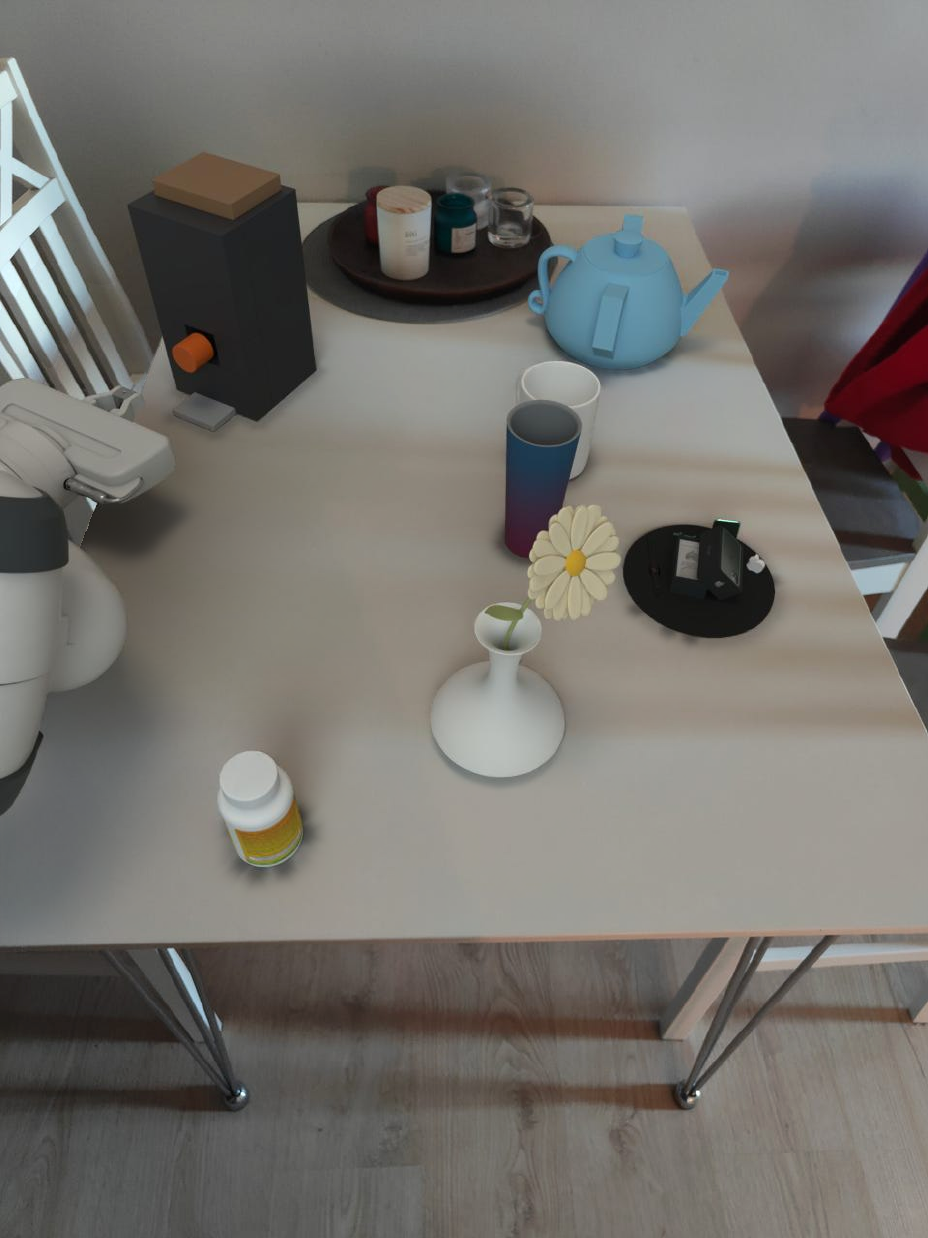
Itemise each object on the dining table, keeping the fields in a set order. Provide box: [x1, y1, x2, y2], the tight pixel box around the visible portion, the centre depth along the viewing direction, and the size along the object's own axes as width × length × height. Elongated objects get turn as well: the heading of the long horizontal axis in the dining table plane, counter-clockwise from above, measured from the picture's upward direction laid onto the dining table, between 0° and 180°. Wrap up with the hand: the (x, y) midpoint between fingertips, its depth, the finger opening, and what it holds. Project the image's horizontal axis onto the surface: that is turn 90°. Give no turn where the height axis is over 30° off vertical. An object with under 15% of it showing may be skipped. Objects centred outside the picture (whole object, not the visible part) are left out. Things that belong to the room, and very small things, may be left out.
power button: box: [172, 333, 213, 372], centre depth 93 cm, size 3×3×3 cm
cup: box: [504, 400, 582, 559], centre depth 82 cm, size 7×7×15 cm
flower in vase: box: [429, 503, 622, 778], centre depth 64 cm, size 13×11×25 cm
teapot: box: [527, 213, 730, 370], centre depth 108 cm, size 19×19×14 cm
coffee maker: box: [126, 151, 317, 432], centre depth 94 cm, size 16×12×24 cm
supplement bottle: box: [216, 750, 304, 868], centre depth 63 cm, size 5×5×10 cm
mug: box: [515, 360, 602, 481], centre depth 93 cm, size 12×8×10 cm
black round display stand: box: [622, 518, 776, 639], centre depth 83 cm, size 15×15×6 cm
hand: (133, 394), depth 88 cm, fingers closed
